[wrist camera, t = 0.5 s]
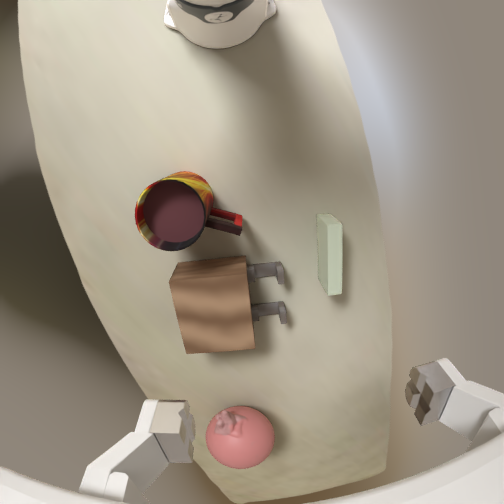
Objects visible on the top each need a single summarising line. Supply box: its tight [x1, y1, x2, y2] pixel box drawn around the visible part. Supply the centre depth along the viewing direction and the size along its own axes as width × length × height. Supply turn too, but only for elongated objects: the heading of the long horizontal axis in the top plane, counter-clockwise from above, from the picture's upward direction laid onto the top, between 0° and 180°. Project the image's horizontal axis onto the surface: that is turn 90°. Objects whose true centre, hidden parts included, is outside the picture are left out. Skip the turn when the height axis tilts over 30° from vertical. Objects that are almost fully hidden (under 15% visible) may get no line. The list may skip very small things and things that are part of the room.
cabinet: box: [169, 256, 287, 354], centre depth 53 cm, size 14×18×8 cm
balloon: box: [206, 406, 275, 469], centre depth 60 cm, size 15×20×15 cm
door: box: [316, 214, 342, 296], centre depth 51 cm, size 12×3×7 cm, turn 6°
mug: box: [135, 171, 242, 251], centre depth 45 cm, size 10×14×12 cm
